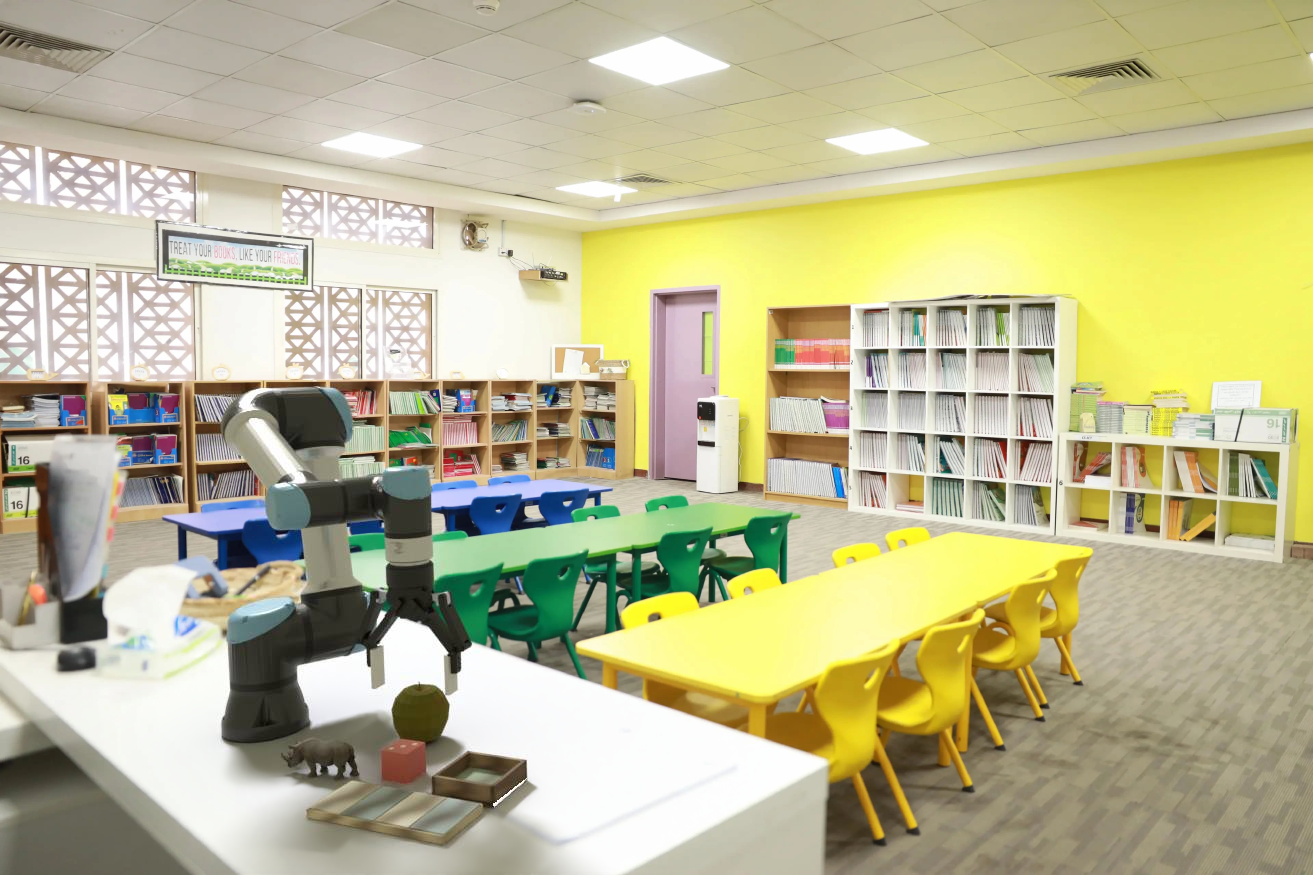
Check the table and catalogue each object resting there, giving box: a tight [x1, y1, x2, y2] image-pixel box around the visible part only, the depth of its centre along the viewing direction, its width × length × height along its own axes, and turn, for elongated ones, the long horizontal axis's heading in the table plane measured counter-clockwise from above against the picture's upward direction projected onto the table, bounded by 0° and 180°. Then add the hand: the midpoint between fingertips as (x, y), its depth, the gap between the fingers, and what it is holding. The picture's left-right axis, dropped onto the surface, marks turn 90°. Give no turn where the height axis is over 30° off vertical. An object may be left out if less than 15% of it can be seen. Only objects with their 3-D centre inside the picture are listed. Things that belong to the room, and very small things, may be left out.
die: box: [380, 738, 427, 785], centre depth 144 cm, size 5×5×5 cm
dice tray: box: [431, 750, 528, 809], centre depth 139 cm, size 11×10×3 cm
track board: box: [305, 780, 484, 846], centre depth 131 cm, size 24×10×1 cm, turn 69°
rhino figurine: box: [280, 737, 360, 782], centre depth 146 cm, size 4×14×6 cm, turn 76°
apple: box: [391, 682, 451, 744], centre depth 158 cm, size 10×10×11 cm
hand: (414, 689), depth 145 cm, fingers open, 13 cm apart
